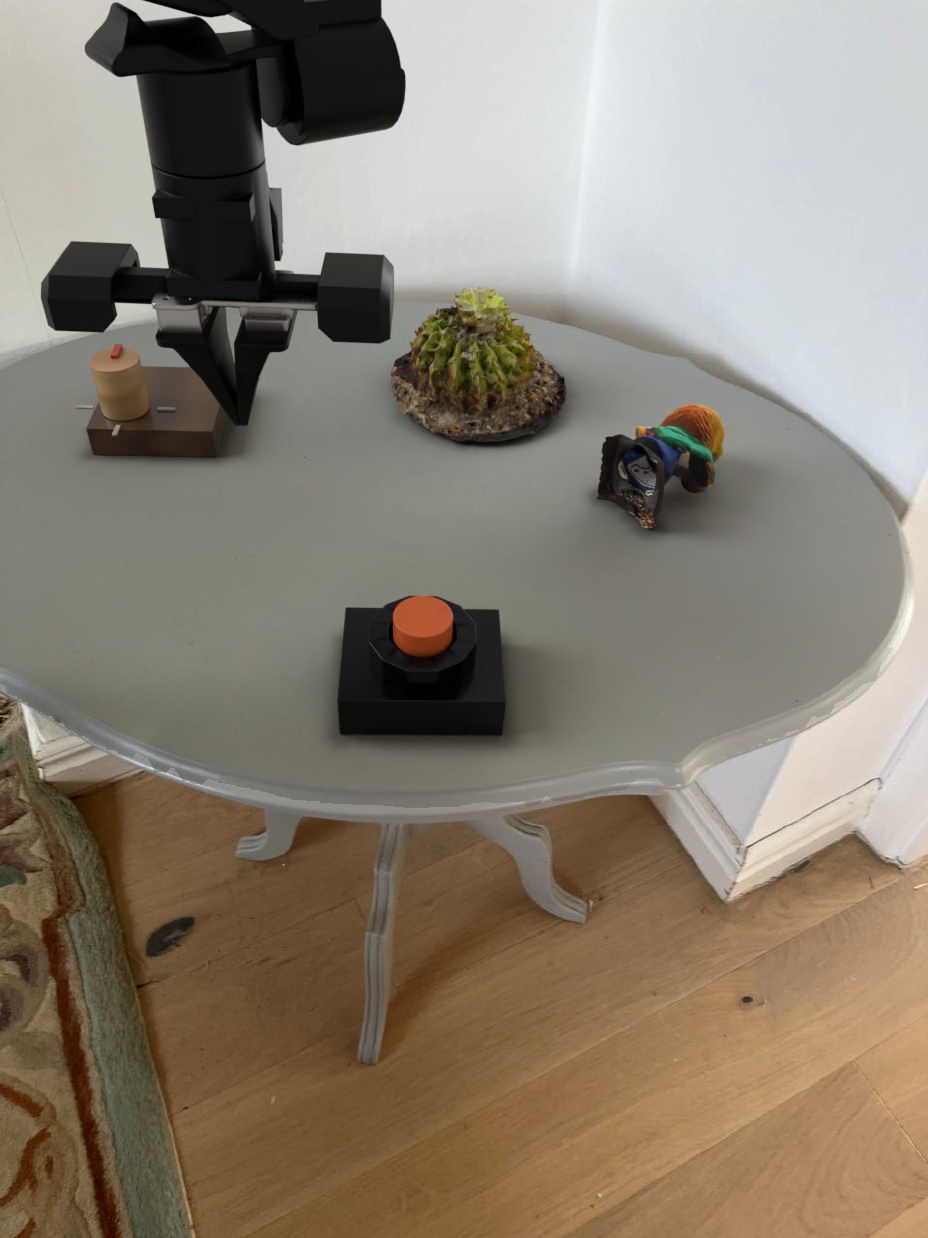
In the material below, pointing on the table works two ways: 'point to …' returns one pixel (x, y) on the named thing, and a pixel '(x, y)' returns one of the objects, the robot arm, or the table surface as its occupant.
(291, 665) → the table surface
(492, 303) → the cactus
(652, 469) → the figurine
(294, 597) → the table surface
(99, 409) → the panel
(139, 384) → the knob
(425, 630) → the button
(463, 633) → the button box
